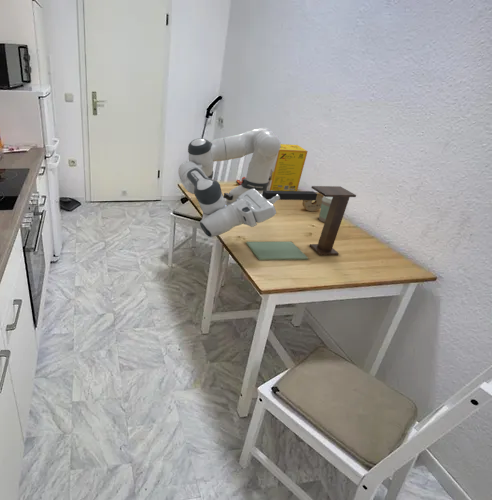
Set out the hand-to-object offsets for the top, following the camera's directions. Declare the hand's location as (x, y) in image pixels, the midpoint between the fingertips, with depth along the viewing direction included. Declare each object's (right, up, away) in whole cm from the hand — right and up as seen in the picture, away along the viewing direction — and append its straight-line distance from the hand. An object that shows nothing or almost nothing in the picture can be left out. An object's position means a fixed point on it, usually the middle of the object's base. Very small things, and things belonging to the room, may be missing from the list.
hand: (276, 194), depth 134 cm
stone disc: (+39, 0, +55) cm, 68 cm away
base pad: (+4, -21, +12) cm, 25 cm away
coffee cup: (+41, -6, +44) cm, 60 cm away
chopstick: (+11, +17, +84) cm, 86 cm away
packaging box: (+33, +16, +85) cm, 93 cm away
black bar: (+5, -1, +1) cm, 5 cm away
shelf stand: (+22, -21, +14) cm, 34 cm away
